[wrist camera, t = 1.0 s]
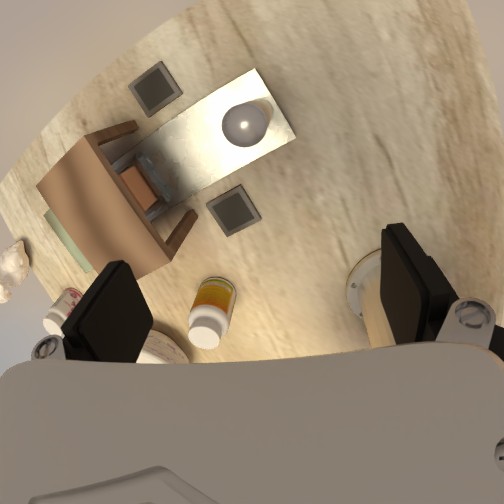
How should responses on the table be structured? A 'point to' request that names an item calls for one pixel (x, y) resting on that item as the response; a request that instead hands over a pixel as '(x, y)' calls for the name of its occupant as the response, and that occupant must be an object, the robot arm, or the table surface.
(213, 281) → the supplement bottle
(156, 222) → the table surface
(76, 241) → the wooden table
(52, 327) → the pill bottle
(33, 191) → the table surface
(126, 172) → the block
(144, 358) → the paper bowls
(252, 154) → the metal rod stand
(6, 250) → the white lumpy bag
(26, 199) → the table surface
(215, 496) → the robot arm
